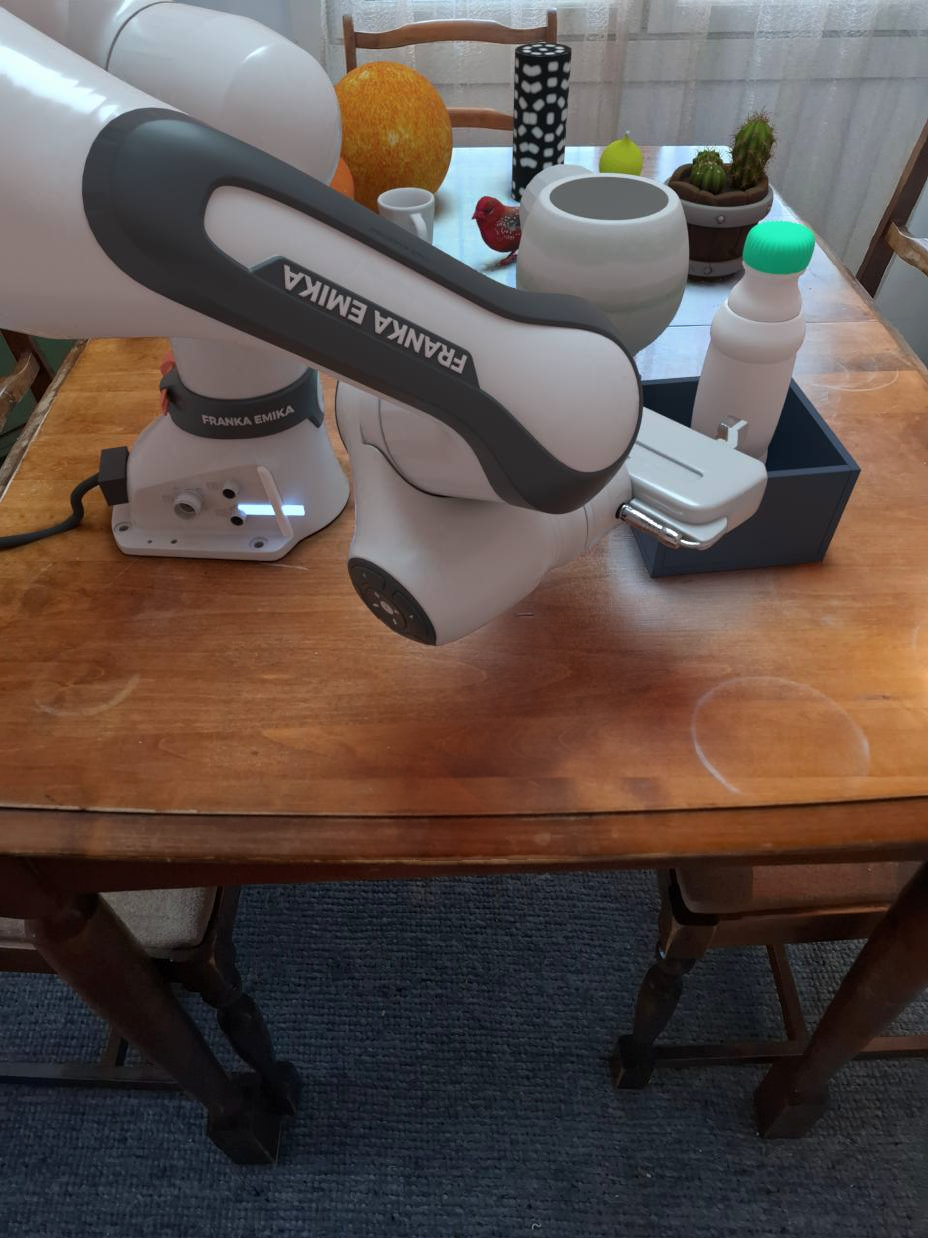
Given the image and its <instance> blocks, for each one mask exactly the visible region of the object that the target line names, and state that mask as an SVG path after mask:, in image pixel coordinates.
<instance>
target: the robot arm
mask: <svg viewBox="0 0 928 1238" xmlns="http://www.w3.org/2000/svg"><path fill="white" fill-rule="evenodd" d="M334 87H335V86H334V85H333V83H332V81H331V78H330V77H329V75H328V74H327V72H326V70H325V69H324V67H323V66H322V65H321V64H320V63H319V61H318V60H317V59H316V58H315V57H314V56H313V55H312V54H310V53H309V52H308V51H306V50H305V49H304V48H302V47H300V46H299V45H297V44H296V43H294V42H293V41H291V40H290V39H288V38H287V37H285V36H283V35H282V34H280V33H279V32H277V31H276V30H273V29H272V28H270V27H268V26H266V25H265V24H263V23H262V22H259V21H257V20H255V19H253V18H250V17H247V16H243V15H240V14H234V13H229V12H226V11H220V10H215V9H210V8H206V7H200V6H196V5H191V4H186V3H183V2H179V1H176V0H0V329H3V330H7V331H12V332H16V333H22V334H25V335H30V336H35V337H40V338H45V339H54V340H89V339H90V340H91V339H115V338H116V339H117V338H167V340H168V344H169V346H170V351H166V352H165V353H164V354H163V357H162V361H161V362H162V363H161V365H160V368H159V370H160V374H161V379H160V383H159V386H158V388H159V391H160V396H159V406H160V408H161V410H162V412H161V413H160V414H158V416H156V417H155V418H154V419H153V420H152V421H151V422H150V423H148V424H147V425H146V426H145V427H143V429H141V431H140V432H139V433H138V435H137V436H136V438H135V440H134V442H133V444H132V446H131V448H130V451H129V448H128V446H127V445H123V446H122V445H121V446H116V447H108V448H102V449H101V450H100V459H99V467H98V472H96V473H95V474H93V475H92V476H90V477H88V478H86V479H84V480H83V481H81V482H80V483H78V484H77V485H76V486H75V487H74V488H73V490H72V491H71V493H70V498H69V502H70V506H71V509H72V513H71V515H70V516H69V517H67V518H66V519H64V520H63V521H62V522H60V523H58V524H56V525H54V526H51V527H49V528H45V529H41V530H38V531H33V532H28V533H27V532H26V533H21V534H20V533H19V534H13V535H5V536H0V548H8V547H15V546H21V545H28V544H30V543H35V542H37V541H41V540H43V539H47V538H50V537H53V536H55V535H58V534H61V533H64V532H67V531H70V530H72V529H73V528H75V527H76V526H78V525H79V524H80V523H81V522H82V521H83V519H84V517H85V507H84V504H83V500H82V499H83V498H84V496H85V495H86V494H87V493H88V492H89V491H91V490H93V489H94V488H96V487H98V486H99V488H100V491H101V492H102V495H103V497H104V500H105V502H106V504H107V506H108V507H112V506H113V507H112V514H111V530H112V534H113V537H114V541H115V543H116V546H117V547H118V549H120V551H121V552H122V553H123V554H124V555H129V556H131V555H132V556H148V557H149V556H150V557H168V558H169V557H170V558H195V559H216V560H217V559H219V560H237V561H238V560H240V561H241V560H242V561H261V562H262V561H263V562H270V561H271V562H272V561H277V560H279V559H282V558H283V557H285V556H286V555H287V554H288V553H289V552H290V551H291V550H292V549H293V548H294V547H295V546H296V545H297V544H298V543H299V542H300V541H301V540H303V539H305V538H307V537H309V536H310V535H312V534H314V533H316V532H318V531H320V530H322V529H324V527H326V526H327V525H329V524H330V523H332V522H333V521H334V520H335V519H336V518H337V517H338V516H339V515H340V513H342V511H343V510H344V508H345V507H346V505H347V504H348V500H349V497H350V491H351V489H350V488H351V486H350V481H349V478H348V476H347V474H346V473H345V471H344V470H343V468H342V466H341V463H340V461H339V460H338V457H337V455H336V452H335V449H334V447H333V445H332V441H331V438H330V436H329V432H328V429H327V426H326V423H325V412H326V405H325V398H324V397H325V396H324V391H323V384H322V378H321V374H324V375H326V376H328V377H330V378H333V379H335V380H337V382H336V387H335V392H334V393H335V394H334V418H335V423H336V428H337V432H338V435H339V437H340V440H341V442H342V445H343V447H344V449H345V451H346V453H347V456H348V460H349V466H350V470H351V471H350V472H351V478H352V485H353V496H354V508H355V509H354V511H355V516H354V517H355V519H354V529H353V535H352V539H351V543H350V546H349V548H348V553H347V555H346V556H347V557H346V566H347V573H348V576H349V579H350V581H351V584H352V587H353V588H354V590H355V592H356V594H357V595H358V597H359V599H360V600H361V601H362V603H363V604H364V605H365V606H366V608H367V609H368V610H369V611H370V612H371V613H372V614H373V616H375V617H376V619H377V620H379V621H380V622H382V623H383V624H384V625H385V626H386V627H388V628H389V630H391V631H392V632H394V633H396V634H397V635H400V636H401V637H404V638H406V639H409V640H410V641H413V642H416V643H418V644H421V645H426V646H432V647H441V646H446V645H448V644H451V643H454V642H457V641H459V640H461V639H464V638H465V637H467V636H469V635H471V634H472V633H475V632H476V631H478V630H480V629H481V628H483V627H484V626H487V625H488V624H489V623H491V622H493V621H495V620H496V619H497V618H499V617H500V616H501V615H503V614H505V613H506V612H508V611H509V610H510V609H512V608H513V607H514V606H516V605H517V604H518V603H520V602H521V601H522V600H523V599H525V598H526V597H528V596H529V595H530V594H531V593H532V592H533V591H535V589H537V587H538V586H539V584H541V581H542V580H543V578H544V577H545V575H547V574H548V573H549V572H550V571H553V570H554V569H558V568H561V567H563V566H566V565H568V564H570V563H572V562H573V561H574V560H576V559H577V558H579V557H580V556H581V555H582V554H584V553H585V552H586V551H588V550H589V549H590V548H592V547H593V546H594V545H596V544H597V543H599V541H600V540H602V539H603V538H605V537H606V536H607V535H609V534H610V533H612V532H613V531H614V530H615V529H617V528H618V527H619V526H621V524H622V523H623V522H624V523H626V524H628V525H629V526H630V527H631V526H633V527H635V528H636V529H639V530H641V531H643V532H646V533H648V534H650V535H652V536H654V537H656V538H657V539H658V540H659V541H660V542H661V543H663V544H665V545H667V546H669V547H672V548H678V547H679V546H682V547H686V548H692V549H698V550H704V549H707V548H709V547H710V546H712V545H713V544H714V543H715V542H716V541H717V540H719V539H720V538H721V537H722V536H723V535H724V534H725V533H727V532H729V531H731V530H732V529H734V528H735V527H737V526H738V525H740V524H741V523H743V522H744V521H746V520H747V519H748V518H750V517H751V516H752V515H753V514H754V513H755V512H756V511H757V509H758V507H759V505H760V503H761V500H762V498H763V495H764V492H765V488H766V484H767V478H768V476H767V471H766V467H765V465H764V464H763V463H762V462H761V461H759V460H757V459H755V458H753V457H750V456H748V455H746V454H744V453H742V452H740V451H737V450H736V449H737V447H738V446H739V445H740V444H742V442H743V441H744V439H745V437H746V434H747V431H748V427H749V423H748V422H746V421H744V420H741V419H739V418H736V417H734V416H731V415H729V416H728V417H727V419H724V420H722V421H721V422H720V423H719V425H718V429H717V432H718V435H717V436H716V437H715V440H714V439H712V438H710V437H707V436H705V435H703V434H701V433H699V432H697V431H695V430H692V429H690V428H688V427H686V426H684V425H682V424H680V423H677V422H675V421H673V420H671V419H669V418H667V417H665V416H663V415H660V414H658V413H656V412H654V411H652V410H650V409H648V408H645V407H643V389H642V383H641V380H642V377H643V376H642V374H640V372H639V368H638V366H637V362H636V360H635V358H634V356H632V353H631V351H630V350H629V348H628V346H627V344H626V342H625V341H624V339H623V337H622V336H621V334H620V333H619V331H618V330H617V329H616V327H615V326H614V325H613V323H612V322H611V321H610V320H609V319H608V317H607V316H606V315H605V314H604V313H603V312H602V311H601V310H600V309H599V308H598V307H597V306H595V305H594V304H593V303H591V302H590V301H588V300H586V299H583V298H581V297H578V296H574V295H569V294H558V293H536V292H528V291H523V290H519V289H516V287H512V286H510V285H507V284H504V283H502V282H499V281H497V280H495V279H493V278H492V277H490V276H487V275H485V274H484V273H482V272H480V271H479V270H476V269H475V268H473V267H471V266H470V265H468V264H466V263H464V262H463V261H461V260H459V259H458V258H455V257H454V256H452V255H450V254H449V253H447V252H445V251H443V250H442V249H440V248H438V247H437V246H435V245H433V244H432V245H431V244H429V243H427V242H426V241H424V240H422V239H420V238H419V237H417V236H415V235H413V234H412V233H410V232H408V231H406V230H405V229H403V228H401V227H399V226H398V225H396V224H394V223H393V222H391V221H389V220H387V219H386V218H384V217H382V216H380V214H377V213H375V212H373V211H372V210H370V209H368V208H366V207H365V206H363V205H361V204H359V203H358V202H356V201H354V200H352V199H350V198H349V197H347V196H345V195H343V194H342V193H340V192H338V191H336V190H335V189H333V188H331V187H329V185H330V183H331V181H332V179H333V177H334V174H335V172H336V169H337V165H338V162H339V157H340V152H341V144H342V120H341V112H340V107H339V103H338V99H337V96H336V93H335V90H334Z"/></svg>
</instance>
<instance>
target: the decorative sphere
mask: <svg viewBox="0 0 928 1238" xmlns="http://www.w3.org/2000/svg"><path fill="white" fill-rule="evenodd" d="M333 87H334V90H335V93H336V96H337V99H338V103H339V107H340V112H341V120H342V144H341V152H340V157H341V158H342V159H343V160H344V162H345V163H346V165H347V166H348V168H349V170H350V173H351V176H352V179H353V183H354V201H356V202H358V203H359V204H361V205H363V206H365V207H366V208H368V209H370V210H372V211H373V212H375V213H377V214H379V208H378V203H377V201H378V198H379V196H380V195H381V194H383V193H384V192H387V191H389V190H393V189H398V188H419V189H423V190H426V191H429V192H430V193H432V194H433V196H435V194H436V193H437V192H438V190H440V188H441V186H442V185H443V183H444V181H445V179H446V177H447V175H448V172H449V169H450V166H451V163H452V162H451V161H452V156H453V150H454V148H453V147H454V136H453V135H454V134H453V127H452V122H451V118H450V115H449V112H448V109H447V106H446V104H445V102H444V100H443V98H442V97H441V95H440V93H439V92H438V90H437V89H436V88H435V86H434V85H433V84H432V83H431V81H429V80H428V79H427V78H426V77H425V76H424V75H422V74H421V73H420V72H419V71H417V70H415V69H414V68H412V67H410V66H408V65H405V64H402V63H399V62H397V61H388V60H377V61H372V62H371V61H370V62H367V63H364V64H362V65H359V66H357V67H355V68H354V69H352V70H350V71H349V72H347V73H346V74H345V75H344V76H342V78H341V79H340V80H339V81H338V82H337V83H336V85H335V86H333ZM379 215H380V214H379Z"/></svg>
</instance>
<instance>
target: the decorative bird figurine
mask: <svg viewBox="0 0 928 1238" xmlns="http://www.w3.org/2000/svg"><path fill="white" fill-rule="evenodd" d="M519 209H520V205H519V206H517V205H516V206H514V205H513V206H511V205H510V206H509V205H505V204H503V203H502V202H501V201H500V200H499V199H498V198H496V197H493V196H489V195H483V196H482V197H480V199H478V201H477V202H476V204H475V209H474V212H473V214H472V217H471V220H475V221H476V225H477V227H478V229H479V230H478V231H479V233H480V237H481V239H482V241H483V243H485V245H486V246H487V247H488V248H489V249H490V250H493V251H494V252H497V253H503V254H504V253H505V254H506V253H509V254H508V255H507V256H506V257H505V258H503V259H501V260H500V261H499V262H496V263H494V264H493V267H495V266H500V265H502V266H504V265H506V264H508V263H509V262H512V261H514V260H517V256H518V253H517V252H518V250H519V245H520V241H521V237H522V231H521V226H520V217H519Z"/></svg>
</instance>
